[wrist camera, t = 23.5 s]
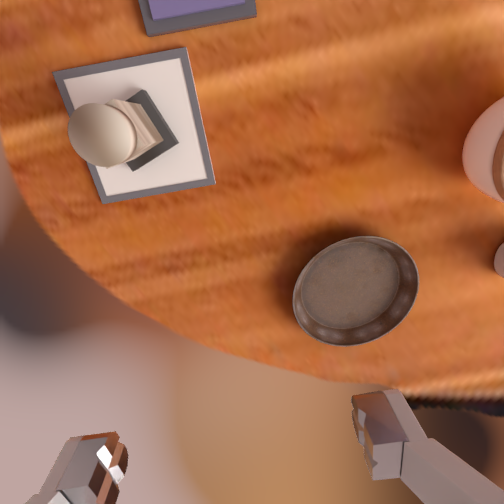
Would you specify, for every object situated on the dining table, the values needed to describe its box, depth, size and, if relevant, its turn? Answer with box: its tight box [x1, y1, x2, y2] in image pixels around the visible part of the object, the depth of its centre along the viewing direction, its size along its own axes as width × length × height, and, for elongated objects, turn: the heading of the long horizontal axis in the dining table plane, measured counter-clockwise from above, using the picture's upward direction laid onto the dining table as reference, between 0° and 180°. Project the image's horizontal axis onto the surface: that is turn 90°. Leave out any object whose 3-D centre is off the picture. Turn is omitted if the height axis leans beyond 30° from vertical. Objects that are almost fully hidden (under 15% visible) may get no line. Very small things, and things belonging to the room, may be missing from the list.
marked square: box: [52, 47, 216, 204], centre depth 33 cm, size 14×14×1 cm
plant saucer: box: [292, 236, 419, 347], centre depth 42 cm, size 18×18×3 cm
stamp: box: [68, 89, 179, 172], centre depth 28 cm, size 6×6×11 cm
